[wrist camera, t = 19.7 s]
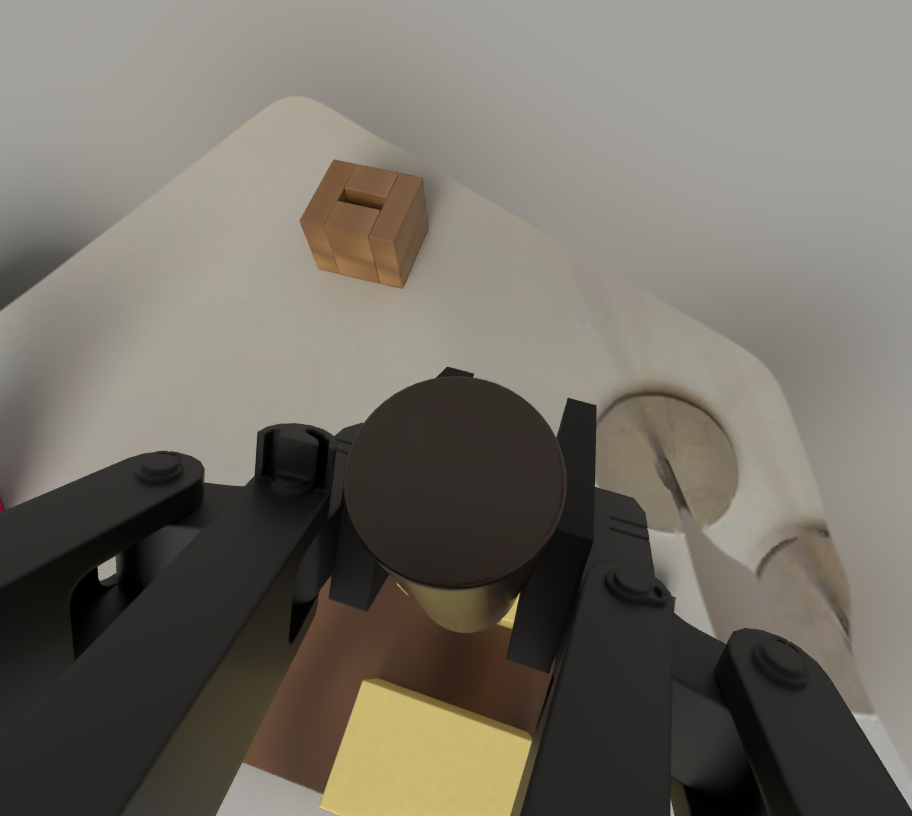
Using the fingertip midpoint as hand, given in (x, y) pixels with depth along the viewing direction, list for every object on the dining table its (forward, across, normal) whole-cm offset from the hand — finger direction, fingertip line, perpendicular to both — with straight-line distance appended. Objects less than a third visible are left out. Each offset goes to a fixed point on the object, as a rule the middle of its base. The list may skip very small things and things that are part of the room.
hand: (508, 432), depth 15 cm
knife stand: (+27, -15, 0) cm, 31 cm away
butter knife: (+3, 0, -9) cm, 9 cm away
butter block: (+5, 0, -20) cm, 21 cm away
